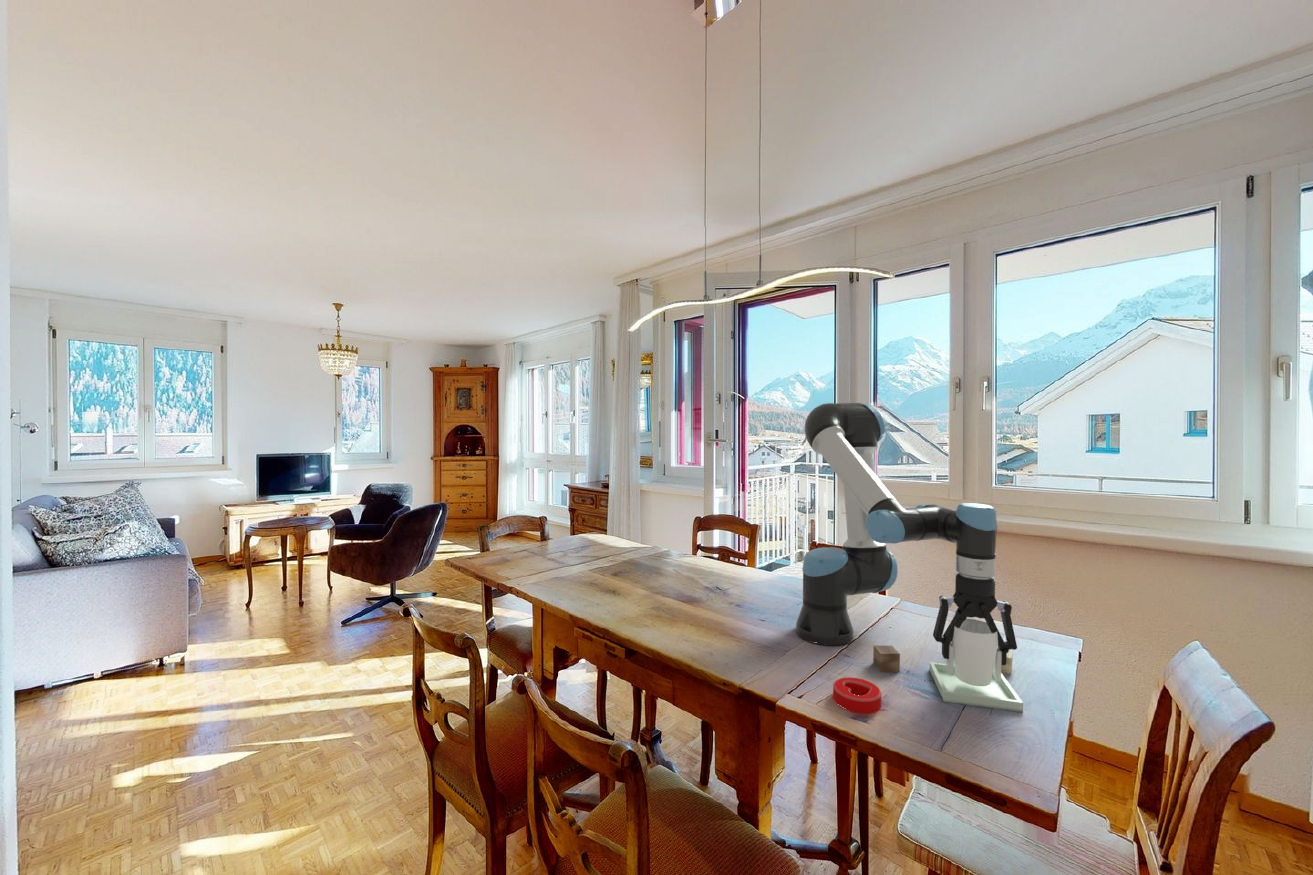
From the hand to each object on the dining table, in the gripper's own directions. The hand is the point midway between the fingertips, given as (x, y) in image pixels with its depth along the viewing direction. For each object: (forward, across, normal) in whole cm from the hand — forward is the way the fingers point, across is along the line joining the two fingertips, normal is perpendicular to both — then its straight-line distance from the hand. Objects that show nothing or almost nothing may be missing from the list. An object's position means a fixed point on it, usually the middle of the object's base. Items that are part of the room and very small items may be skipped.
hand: (973, 675), depth 118 cm
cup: (+1, 0, 0) cm, 1 cm away
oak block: (+3, +9, +13) cm, 16 cm away
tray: (+3, 0, 0) cm, 3 cm away
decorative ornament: (+4, -25, -12) cm, 28 cm away
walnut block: (+3, -17, +6) cm, 18 cm away
